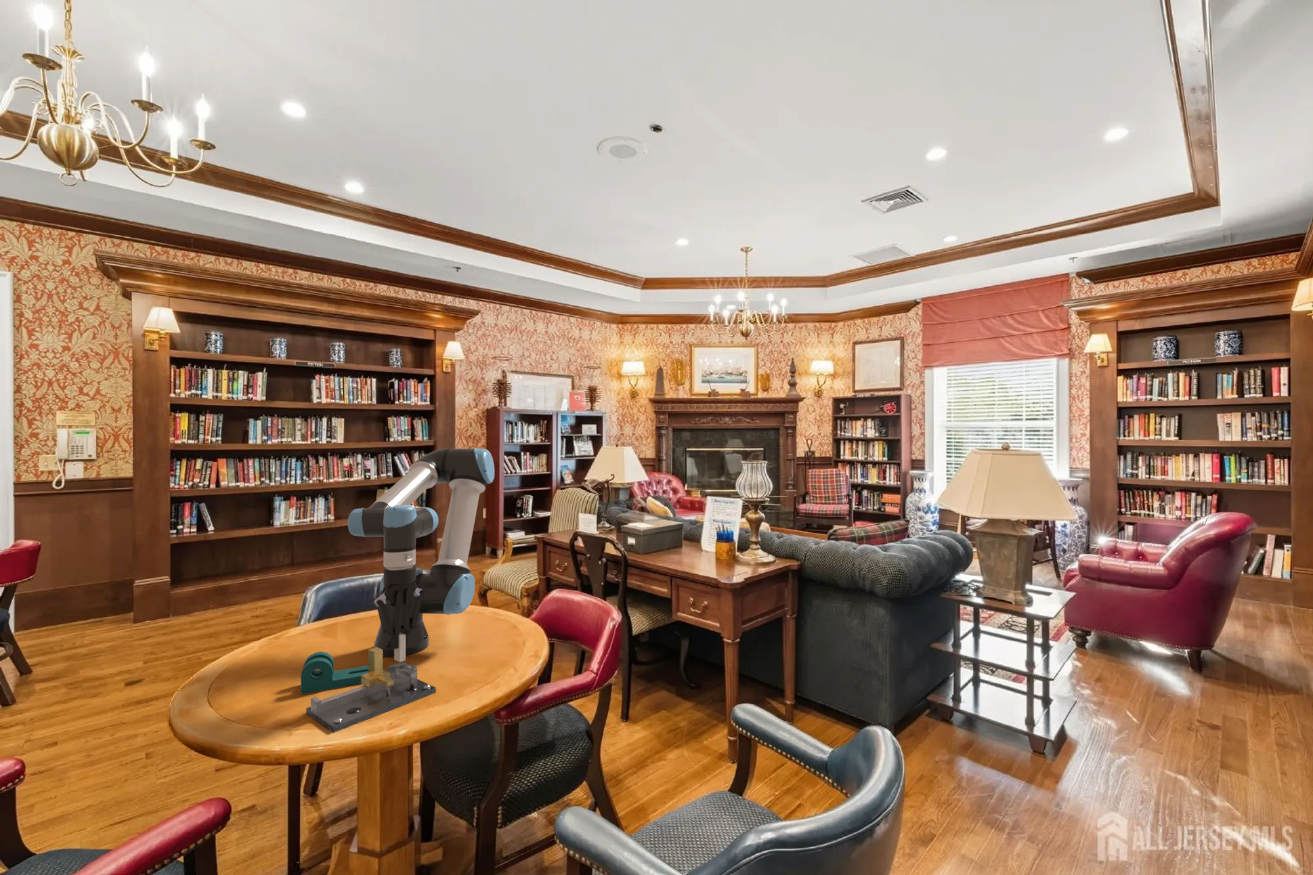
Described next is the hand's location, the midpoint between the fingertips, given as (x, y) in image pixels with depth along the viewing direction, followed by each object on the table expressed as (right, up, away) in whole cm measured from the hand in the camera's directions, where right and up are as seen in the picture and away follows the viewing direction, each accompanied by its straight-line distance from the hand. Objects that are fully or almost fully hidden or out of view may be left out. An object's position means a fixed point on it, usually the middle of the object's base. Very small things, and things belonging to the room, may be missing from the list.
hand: (399, 659), depth 144 cm
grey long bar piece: (-3, -6, -8) cm, 10 cm away
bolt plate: (-3, -7, -8) cm, 11 cm away
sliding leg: (-2, -5, -6) cm, 9 cm away
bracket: (-16, -8, +3) cm, 18 cm away
